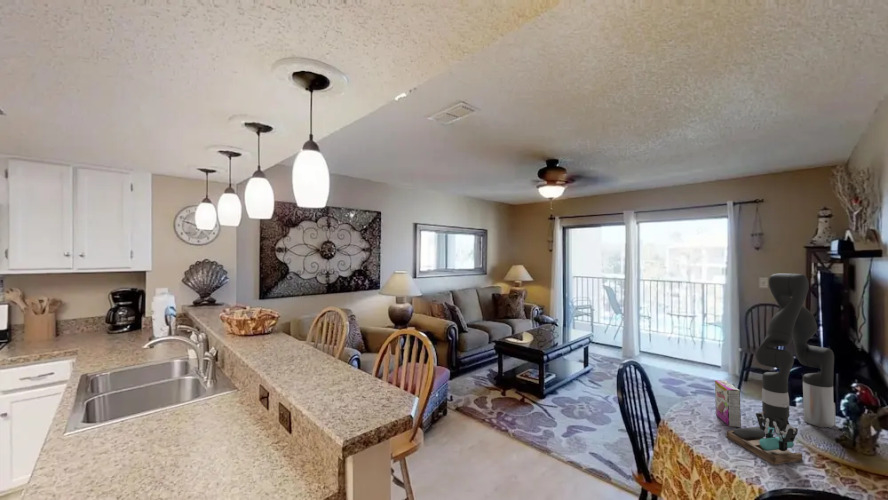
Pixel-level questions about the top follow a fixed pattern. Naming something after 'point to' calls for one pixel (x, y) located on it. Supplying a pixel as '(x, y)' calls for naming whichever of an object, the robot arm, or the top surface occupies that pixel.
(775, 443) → the teal rod
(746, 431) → the gray rounded cylinder
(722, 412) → the candy bar box
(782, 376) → the robot arm
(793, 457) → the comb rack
